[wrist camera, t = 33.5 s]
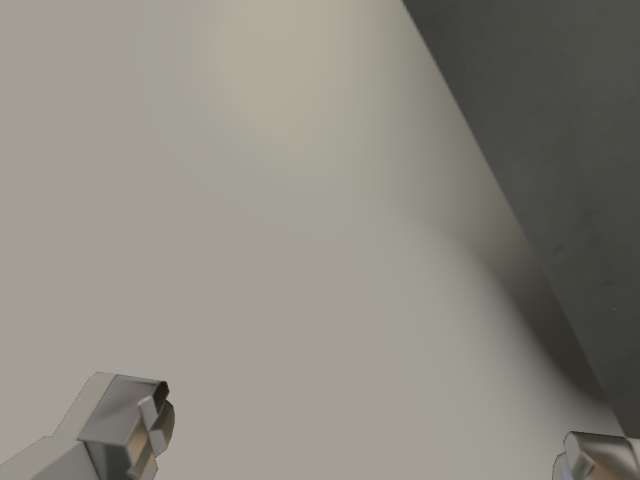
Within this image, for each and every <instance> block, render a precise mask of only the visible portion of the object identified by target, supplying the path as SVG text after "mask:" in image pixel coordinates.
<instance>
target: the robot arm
mask: <svg viewBox="0 0 640 480" xmlns="http://www.w3.org/2000/svg"><path fill="white" fill-rule="evenodd" d="M168 394H169V389H168V385H167V382H166V381H159V380H153V379H146V378H139V377H132V376H125V375H120V374H112V373H104V372H96V373H94V374H93V375H92V376H91V377H90V378H89V379H88V380H87V382H86V383H85V385H84V387H83V388H82V390H81V391H80V393H79V394H78V396H77V397H76V399H75V401H74V402H73V404H72V405H71V407H70V408H69V410H68V411H67V413H66V415H65V416H64V418H63V420H62V421H61V422H60V424H59V426H58V427H57V429H56V430H55V432H54V433H53V435H52V436H44V437H42V438H41V439H39V440H38V441H36V442H35V443H33V444H31V445H30V446H29V447H27V448H25V449H24V450H22V451H21V452H19V453H18V454H16V455H15V456H14V457H12V458H10V459H9V460H7V461H5V462H4V463H2V464H1V465H0V480H153V479H154V477H155V475H156V472H157V470H158V467H157V463H156V460H155V458H156V457H157V456H159V455H160V454H161V453H163V452H164V451H165V450H166V449H167V447H168V444H169V442H170V439H171V437H172V432H173V428H174V423H175V422H174V421H175V420H174V419H175V415H174V414H175V413H174V409H173V405H171V403H170V402H168V401H167V400H166V398H167V396H168ZM563 444H564V448H565V452H563V453H561V454H559V455H557V457H556V460H555V463H554V466H553V474H552V480H640V439H631V438H624V437H620V436H611V435H602V434H593V433H584V432H574V431H570V432H569V433H567V434H566V437H565V439H564V441H563Z"/></svg>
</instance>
